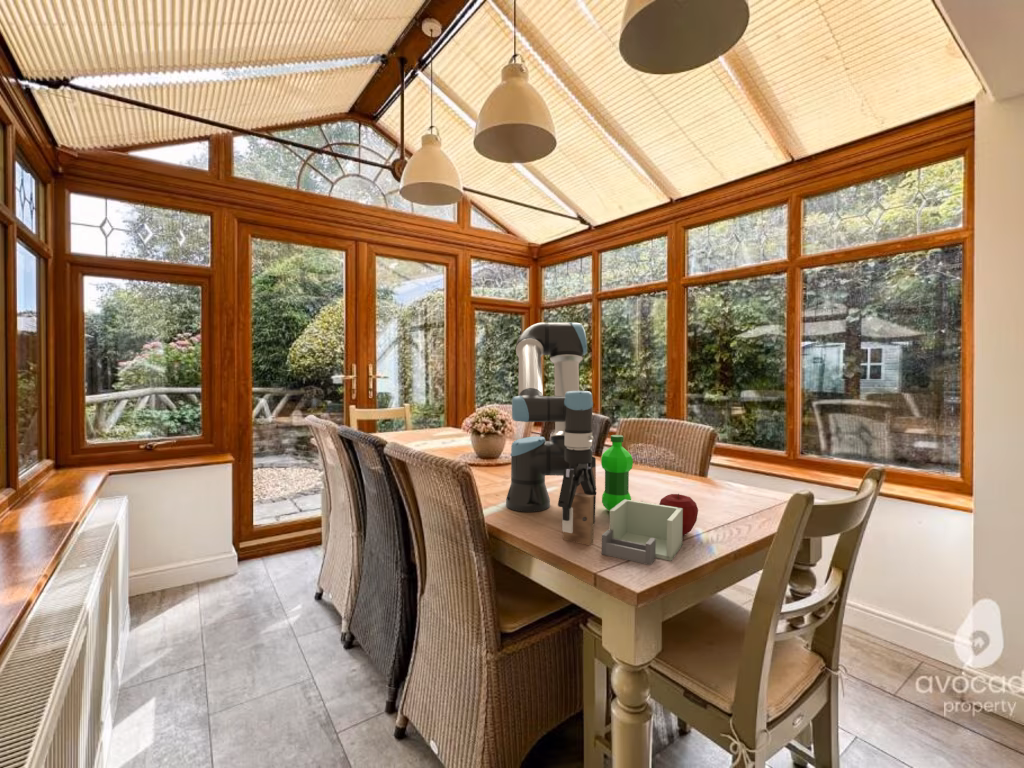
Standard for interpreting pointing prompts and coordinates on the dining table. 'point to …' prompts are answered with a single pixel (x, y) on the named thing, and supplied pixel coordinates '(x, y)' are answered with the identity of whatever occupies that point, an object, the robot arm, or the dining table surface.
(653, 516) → the cabinet
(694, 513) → the apple
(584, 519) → the door panel
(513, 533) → the dining table surface
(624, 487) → the plastic bottle
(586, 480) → the robot arm
